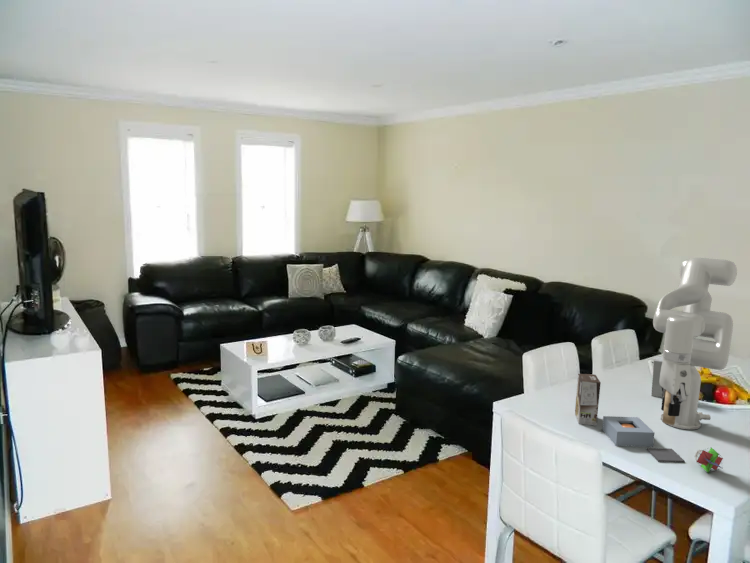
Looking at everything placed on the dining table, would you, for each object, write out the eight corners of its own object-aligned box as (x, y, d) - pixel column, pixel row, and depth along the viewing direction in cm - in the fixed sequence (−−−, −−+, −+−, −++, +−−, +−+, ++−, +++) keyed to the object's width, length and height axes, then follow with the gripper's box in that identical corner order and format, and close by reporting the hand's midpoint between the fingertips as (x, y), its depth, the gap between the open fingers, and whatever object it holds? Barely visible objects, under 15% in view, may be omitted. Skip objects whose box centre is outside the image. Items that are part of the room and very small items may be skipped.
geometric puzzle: (720, 458, 167) (706, 438, 166) (734, 469, 160) (720, 448, 159) (699, 470, 168) (686, 451, 167) (712, 482, 161) (698, 462, 160)
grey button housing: (636, 430, 190) (638, 417, 189) (652, 446, 178) (654, 432, 177) (602, 429, 190) (603, 416, 189) (615, 445, 179) (617, 431, 178)
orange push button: (630, 434, 186) (631, 423, 185) (635, 439, 182) (636, 428, 181) (618, 433, 186) (619, 423, 186) (623, 439, 182) (624, 428, 182)
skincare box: (674, 395, 223) (678, 358, 221) (673, 400, 218) (677, 363, 215) (651, 391, 228) (655, 354, 225) (649, 396, 222) (653, 359, 219)
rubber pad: (671, 450, 176) (671, 448, 176) (684, 462, 168) (684, 460, 168) (646, 449, 176) (646, 447, 176) (658, 461, 168) (658, 460, 168)
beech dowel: (671, 420, 172) (675, 387, 170) (676, 424, 168) (680, 390, 166) (660, 419, 172) (664, 386, 170) (665, 424, 168) (669, 390, 167)
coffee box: (597, 426, 193) (601, 382, 190) (578, 424, 195) (581, 381, 192) (592, 415, 202) (596, 374, 199) (574, 413, 203) (577, 372, 201)
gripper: (704, 365, 158) (696, 424, 161) (675, 349, 175) (668, 403, 178) (678, 364, 158) (671, 423, 161) (651, 348, 175) (645, 402, 178)
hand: (670, 412), depth 169 cm, fingers closed on beech dowel, 3 cm apart
